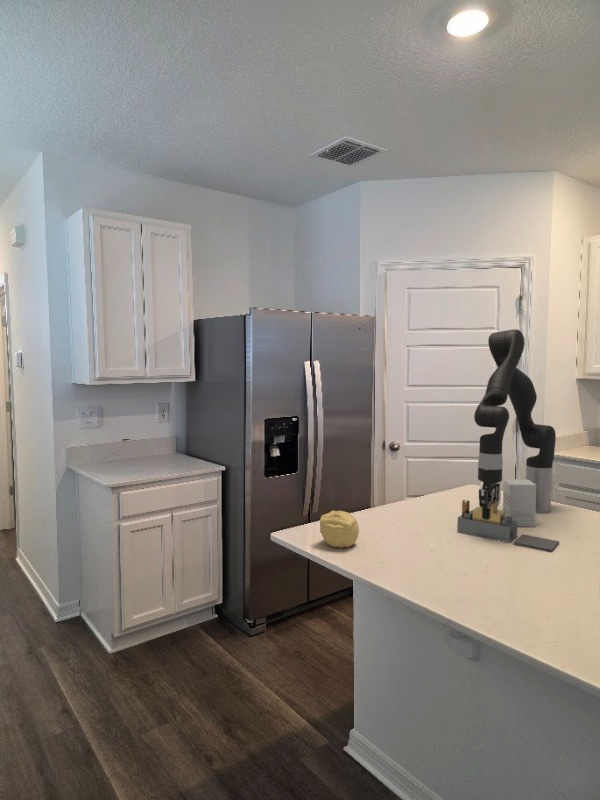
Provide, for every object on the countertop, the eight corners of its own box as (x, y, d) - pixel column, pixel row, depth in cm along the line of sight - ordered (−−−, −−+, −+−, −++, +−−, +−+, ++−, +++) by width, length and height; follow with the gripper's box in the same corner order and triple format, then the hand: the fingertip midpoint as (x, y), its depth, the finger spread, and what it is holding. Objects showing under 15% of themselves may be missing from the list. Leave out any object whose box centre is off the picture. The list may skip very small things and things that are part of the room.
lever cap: (477, 515, 180) (478, 498, 179) (504, 520, 174) (505, 502, 174) (472, 518, 176) (473, 501, 175) (500, 524, 170) (500, 505, 170)
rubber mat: (522, 536, 173) (522, 534, 173) (559, 543, 166) (559, 541, 166) (513, 544, 165) (513, 542, 165) (551, 552, 159) (551, 549, 159)
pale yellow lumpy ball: (315, 547, 162) (315, 513, 161) (330, 536, 173) (330, 503, 172) (350, 553, 157) (350, 518, 156) (363, 541, 168) (364, 508, 167)
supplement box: (527, 519, 192) (528, 479, 191) (535, 527, 184) (537, 484, 182) (501, 518, 193) (502, 478, 192) (508, 526, 184) (510, 483, 183)
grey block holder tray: (466, 526, 184) (466, 498, 183) (516, 536, 173) (517, 506, 173) (457, 532, 178) (458, 502, 177) (509, 542, 167) (510, 511, 166)
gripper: (486, 462, 182) (484, 510, 183) (471, 468, 170) (469, 520, 171) (508, 464, 177) (507, 514, 178) (494, 471, 166) (493, 524, 167)
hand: (488, 516), depth 175 cm, fingers open, 5 cm apart
